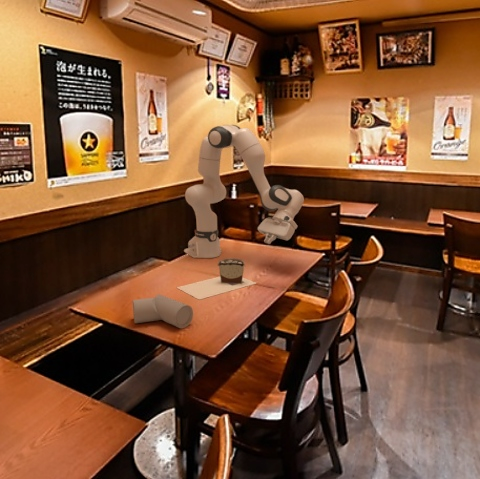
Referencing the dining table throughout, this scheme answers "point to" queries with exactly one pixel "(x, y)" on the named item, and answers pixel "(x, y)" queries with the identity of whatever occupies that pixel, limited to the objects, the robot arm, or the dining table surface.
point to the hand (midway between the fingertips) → (266, 242)
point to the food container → (231, 270)
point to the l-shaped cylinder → (162, 311)
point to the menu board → (212, 287)
